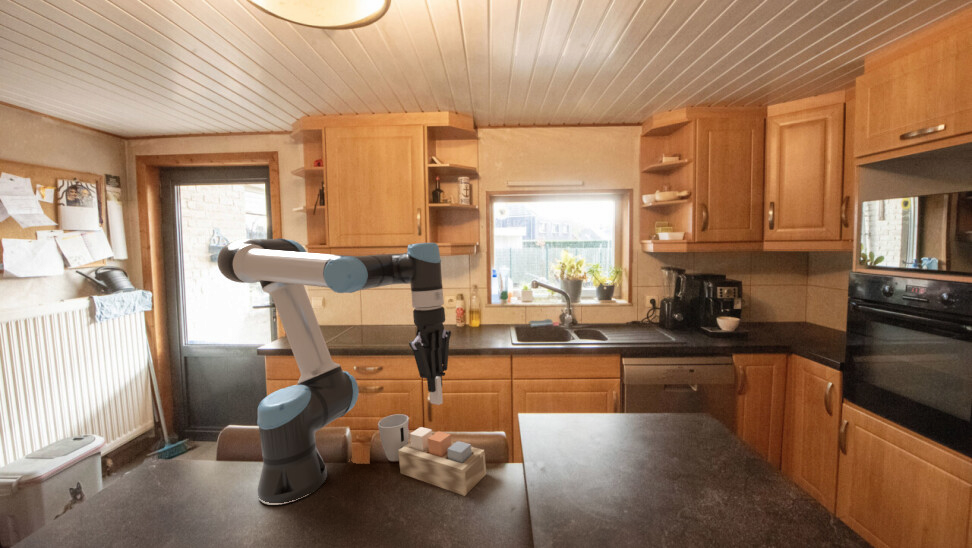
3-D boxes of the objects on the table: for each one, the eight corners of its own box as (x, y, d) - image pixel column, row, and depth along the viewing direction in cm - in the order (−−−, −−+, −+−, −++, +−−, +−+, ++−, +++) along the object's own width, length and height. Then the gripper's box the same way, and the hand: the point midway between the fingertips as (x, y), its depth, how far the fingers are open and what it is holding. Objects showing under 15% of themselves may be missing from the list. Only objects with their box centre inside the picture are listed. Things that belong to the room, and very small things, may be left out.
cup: (404, 465, 97) (400, 427, 97) (376, 463, 99) (372, 427, 98) (416, 448, 105) (413, 414, 105) (390, 447, 107) (386, 414, 106)
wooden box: (400, 473, 94) (398, 450, 93) (424, 455, 101) (422, 433, 101) (464, 495, 83) (462, 469, 83) (486, 473, 90) (484, 450, 90)
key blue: (449, 473, 88) (447, 448, 88) (459, 464, 91) (457, 440, 91) (463, 477, 86) (460, 452, 86) (473, 468, 89) (470, 444, 89)
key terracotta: (429, 462, 91) (427, 438, 91) (440, 454, 95) (438, 431, 94) (442, 466, 89) (440, 441, 89) (452, 457, 92) (450, 434, 92)
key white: (412, 456, 95) (409, 433, 94) (422, 448, 98) (420, 426, 98) (423, 460, 92) (421, 436, 92) (434, 452, 96) (432, 429, 95)
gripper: (421, 312, 82) (430, 416, 83) (457, 303, 93) (464, 395, 94) (397, 311, 86) (406, 411, 87) (434, 302, 97) (441, 391, 98)
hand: (436, 402), depth 91 cm, fingers closed
